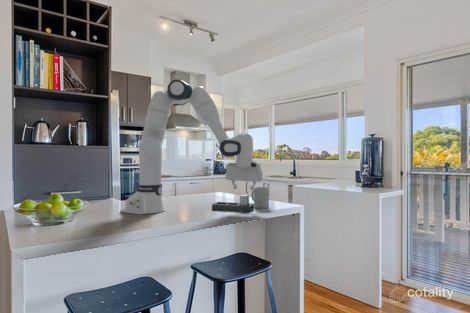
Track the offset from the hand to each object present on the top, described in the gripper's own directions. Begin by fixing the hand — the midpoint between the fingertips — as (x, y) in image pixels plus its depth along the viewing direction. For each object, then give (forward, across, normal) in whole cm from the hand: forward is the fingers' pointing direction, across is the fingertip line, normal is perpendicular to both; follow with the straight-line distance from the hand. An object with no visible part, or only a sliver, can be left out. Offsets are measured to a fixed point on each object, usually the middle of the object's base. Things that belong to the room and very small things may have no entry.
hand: (243, 189), depth 160 cm
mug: (+11, +6, +13) cm, 18 cm away
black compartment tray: (+12, -6, 0) cm, 13 cm away
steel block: (+11, +1, 0) cm, 11 cm away
